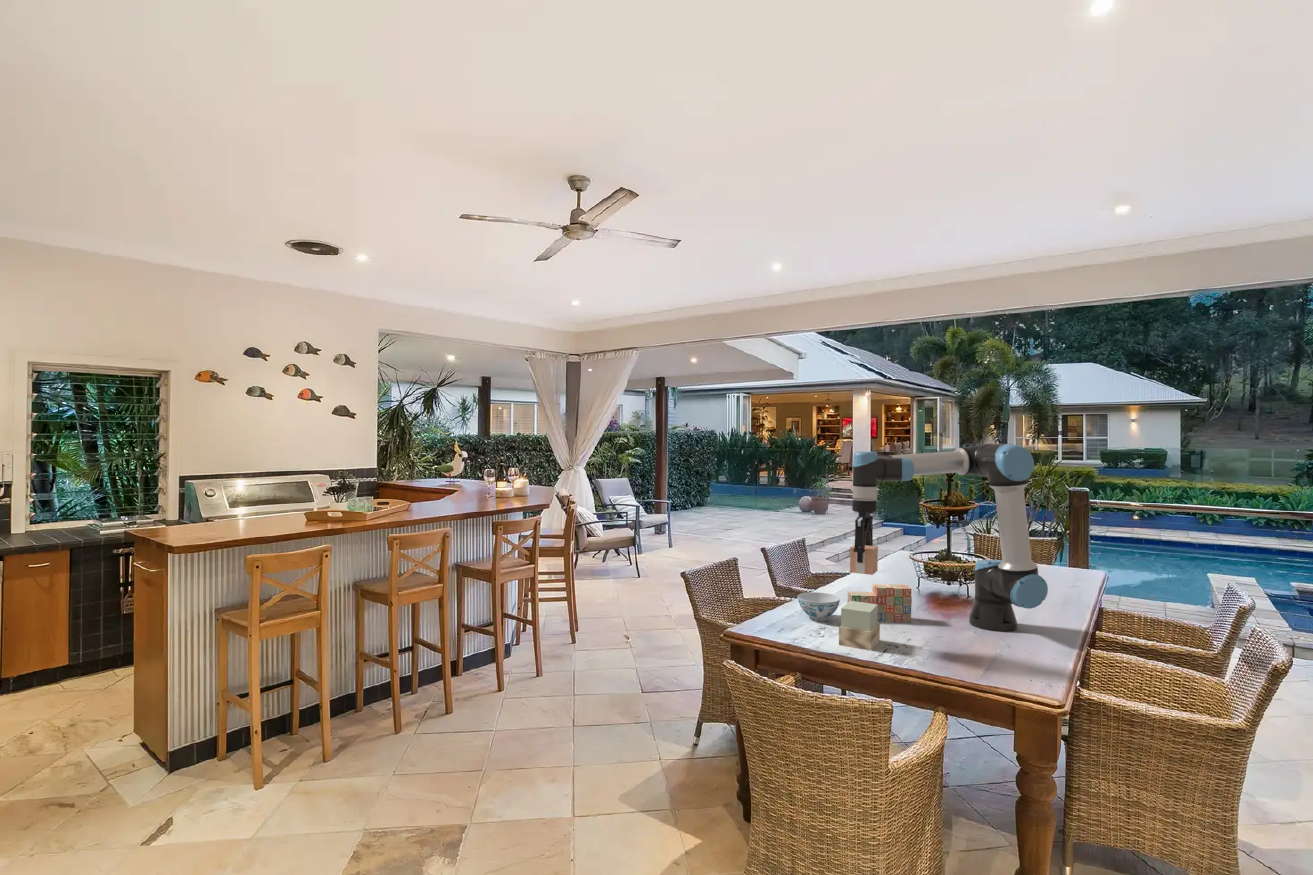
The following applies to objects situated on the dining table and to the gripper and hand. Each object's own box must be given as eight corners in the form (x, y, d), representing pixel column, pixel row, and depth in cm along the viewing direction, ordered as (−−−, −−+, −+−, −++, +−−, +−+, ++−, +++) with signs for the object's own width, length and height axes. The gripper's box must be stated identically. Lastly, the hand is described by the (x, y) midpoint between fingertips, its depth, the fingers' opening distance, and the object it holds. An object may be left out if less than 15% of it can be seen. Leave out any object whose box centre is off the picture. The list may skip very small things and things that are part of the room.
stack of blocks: (851, 620, 238) (851, 586, 238) (847, 616, 244) (847, 582, 244) (911, 622, 236) (911, 588, 236) (906, 617, 243) (906, 584, 243)
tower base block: (879, 641, 215) (879, 622, 215) (870, 651, 205) (871, 632, 205) (848, 635, 221) (849, 618, 221) (838, 645, 210) (839, 627, 210)
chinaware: (823, 611, 250) (823, 590, 250) (848, 621, 236) (848, 600, 236) (789, 614, 245) (789, 594, 245) (813, 625, 231) (813, 603, 231)
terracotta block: (877, 571, 213) (877, 546, 213) (872, 574, 207) (872, 549, 207) (855, 568, 217) (855, 544, 217) (850, 572, 211) (850, 547, 211)
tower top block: (877, 622, 215) (877, 604, 215) (870, 631, 206) (870, 612, 206) (849, 618, 220) (849, 600, 220) (841, 626, 210) (841, 608, 210)
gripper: (860, 496, 222) (859, 564, 223) (844, 501, 205) (843, 574, 206) (883, 497, 219) (882, 566, 219) (869, 502, 201) (867, 577, 202)
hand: (863, 570), depth 212 cm, fingers closed on terracotta block, 7 cm apart
